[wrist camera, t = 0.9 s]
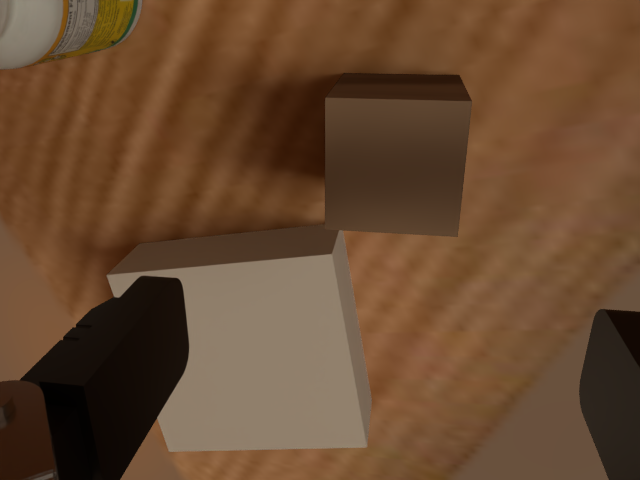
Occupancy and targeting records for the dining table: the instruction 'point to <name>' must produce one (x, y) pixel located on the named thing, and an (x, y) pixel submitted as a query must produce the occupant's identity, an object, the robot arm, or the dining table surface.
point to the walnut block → (396, 153)
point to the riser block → (262, 340)
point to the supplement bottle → (61, 28)
